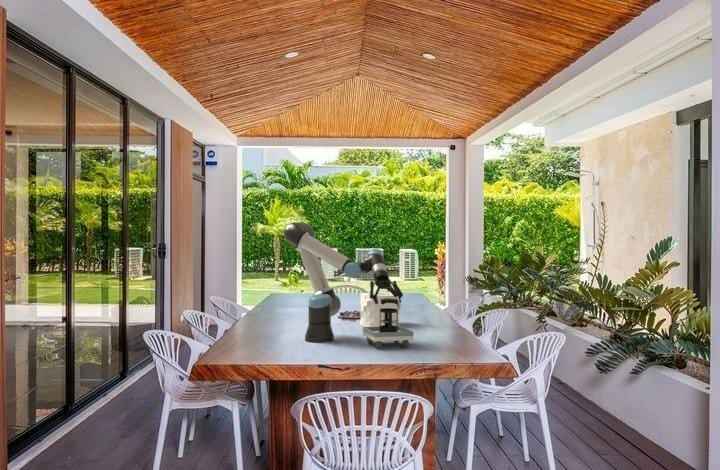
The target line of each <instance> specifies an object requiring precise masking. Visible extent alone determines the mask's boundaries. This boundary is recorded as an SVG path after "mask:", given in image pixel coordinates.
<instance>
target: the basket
mask: <svg viewBox="0 0 720 470" xmlns="http://www.w3.org/2000/svg"><path fill="white" fill-rule="evenodd" d="M375 293H376V291H373V295H375ZM377 297H379V301H380V304H381V300H380V299H385V298H391V299H396V297H395V296H394V295H393V294H392V293H391V292H388V291H387V292H384V291H382V292H380V291H379V292H378V295H377ZM382 308H388V303H385V304H381V309H382ZM389 308H393V309H398V307H397V304H395V303H389ZM359 312H360V313H359V314H360V321H359V323H360V325H361V326H362V325H363V327H367V326H368V327H377V326H384V322H381V325H380V310H378V306H377V304H375V301H374V300H373V298H372V299H370V292H362V293H360V310H359ZM399 315H400V310H398V316H399ZM384 319H385V313H382V312H381V320H384ZM392 320H397V313H392ZM392 326H396V322H395V323H392ZM397 326H400V319H398V324H397Z"/></svg>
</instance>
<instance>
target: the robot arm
mask: <svg viewBox="0 0 720 470" xmlns="http://www.w3.org/2000/svg"><path fill="white" fill-rule="evenodd" d="M314 231H315V230H314V228H313V227H312V226H311V225H310V224H309V223H306V222H302V221H301V222H297V221H295V222H290V223H288V224H287V225H286V226H285V228H284V230H283V237H284V239H285V241H286V242H287V243H289V244H290V245H292V246H293V247H294V250H295V251H296V252H298V253H299V255H300V258H301V260H302V263H303V266H304V267H305V271H306V273H307V277H308V279H309V281H310V284H311V286H312V289H313V291H314V293H313V294H311V295H310V296H309V297H308V302H307V303H308V304H307V305H308V326H307V328H306V332H305V335H304V340H305V342H309V343H328V342H329V343H330V342H333V341H335V334H334V331H333V328H332V324H331V323H332V318H331V317H333V316H335V315H336V314H337V313H339V311H340V309H341V307H342V306H341V305H342V303H341V299H340V298H339V296H338V295H336V292H335V291H334V289H333V288H332V287H330V286H329V283H328V281H327V277H326V274H325V273H324V272H325V271H324V269H323V267H322V264H321V261H320V259H321V260H322V261H324V262H326V263H327V264H329V265H331V266H332V267H334V268H336V269H337V270H339V271H341V272H342V273H344V274H345V275H346V277H347V278H353V279H354V280H355V279H358V278H361V277H362V276H365V275H366V274H369V273H370V272H371V273H372V275H373V280H374V281H373V280H370V282H369V286H370V291H369V293H370V299H372V298H373V300H374V301H375V304H377V306H378V310H380V309H381V304H380V301H379V297H377V295H378V292H380V291H381V290H387V291H388V288H386V287H392V289H390V291H389V293H392V294H393V295H394V296H395V297H396V299H397V300H398V301H397V307H398V310H399V311H400V310H401V307H402V305H401V302H402V300H401V299H402V298H403V296H404V294H403V292H402V290H401V289H400V287H399V286H398V284H397V281H396V280H393V281H391V280H390V276H389V273H388V269H387V267H386V264H385V259H384V256H383V254H382V251H381V250H380V249H377V248H374V249H373V248H372V249H371V250H369V251H368V253H367V257H365V258H363V259H360V260H358V261H354V260H352V259H350V258H349V257H347V256H345V254H342V253H340V252H338V251H337V250H336V249H333V248H332V247H330V246H328V245H327V244H326V243H324V242H321V241H320V240H318V239H316V238H315V232H314ZM375 286H376V287H377V289H376V291H375V292H376V293H375V295H373V292H374V288H375Z"/></svg>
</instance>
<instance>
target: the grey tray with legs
mask: <svg viewBox="0 0 720 470" xmlns="http://www.w3.org/2000/svg"><path fill="white" fill-rule="evenodd" d="M379 328H380V326H377V327H367V326H363V327H362V335H363V336H364V337H366V341H367V342H366V343H367V344H368V345H369V344H374V346H375V349H377V350H378V349H382V342H391V341H392V342H393V343H399V342H400V341H401V342H402V343H401V346H402V347H403V348H409V345H410V342H409V341H413V340H414V331H413V330H410V329H408V328H406V327H403V326H402V325H397V332H383V333H379Z"/></svg>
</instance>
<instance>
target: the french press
mask: <svg viewBox="0 0 720 470" xmlns="http://www.w3.org/2000/svg"><path fill="white" fill-rule="evenodd" d="M386 288H388V290H387V292H390V289H392V288H393V286H392V287H386ZM380 300H381V304H385V303H388V308H382V309H380V325H381V322H384V326H380V328H379V333H383V332H397V326H398V325H397V324H398V320H399V315H398V309H393V308H389V303H395V304H397V301H398V300H397V299H391V298H385V299H380ZM381 312H382V313H385V319H384V320H381ZM392 313H397V320H392ZM395 322H396V326H392V323H395Z"/></svg>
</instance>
